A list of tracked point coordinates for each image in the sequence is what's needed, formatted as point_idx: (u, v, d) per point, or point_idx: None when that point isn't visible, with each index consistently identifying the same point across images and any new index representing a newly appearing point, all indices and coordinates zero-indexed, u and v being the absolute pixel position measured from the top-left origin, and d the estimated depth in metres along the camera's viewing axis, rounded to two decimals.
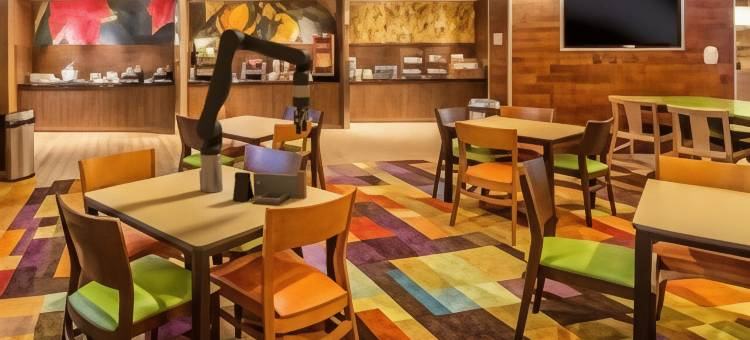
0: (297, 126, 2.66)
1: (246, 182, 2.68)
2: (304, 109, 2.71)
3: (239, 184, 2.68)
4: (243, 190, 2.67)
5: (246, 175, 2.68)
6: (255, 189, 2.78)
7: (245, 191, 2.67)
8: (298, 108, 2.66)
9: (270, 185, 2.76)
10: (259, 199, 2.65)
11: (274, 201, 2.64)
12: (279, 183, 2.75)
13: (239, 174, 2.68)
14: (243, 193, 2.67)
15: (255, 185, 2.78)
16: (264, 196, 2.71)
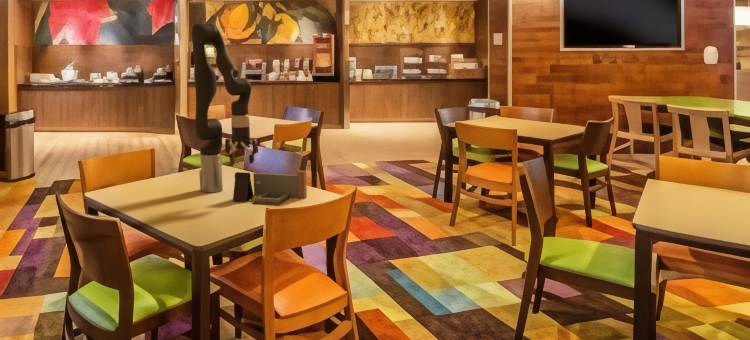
0: (253, 155, 2.66)
1: (246, 182, 2.68)
2: None
3: (239, 184, 2.68)
4: (243, 190, 2.67)
5: (246, 175, 2.68)
6: (255, 189, 2.78)
7: (245, 191, 2.67)
8: (249, 137, 2.65)
9: (270, 185, 2.76)
10: (259, 199, 2.65)
11: (274, 201, 2.64)
12: (279, 183, 2.75)
13: (239, 174, 2.68)
14: (243, 193, 2.67)
15: (255, 185, 2.78)
16: (264, 196, 2.71)
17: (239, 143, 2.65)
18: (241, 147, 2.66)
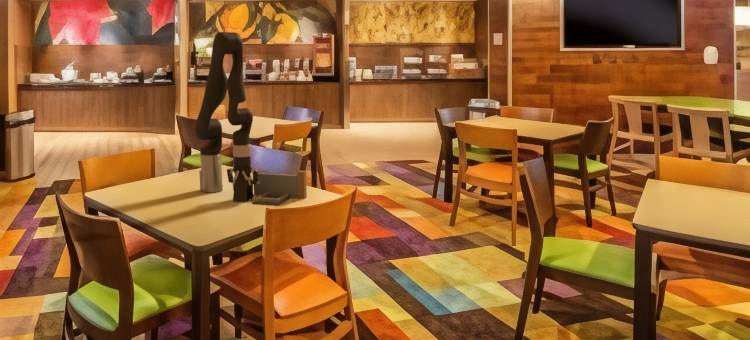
0: (252, 185, 2.69)
1: (246, 182, 2.68)
2: None
3: (239, 184, 2.68)
4: (243, 190, 2.67)
5: None
6: (255, 189, 2.78)
7: (245, 191, 2.67)
8: (250, 167, 2.68)
9: (270, 185, 2.76)
10: (259, 199, 2.65)
11: (274, 201, 2.64)
12: (279, 183, 2.75)
13: (239, 174, 2.68)
14: (243, 193, 2.67)
15: (255, 185, 2.78)
16: (264, 196, 2.71)
17: (240, 172, 2.68)
18: None
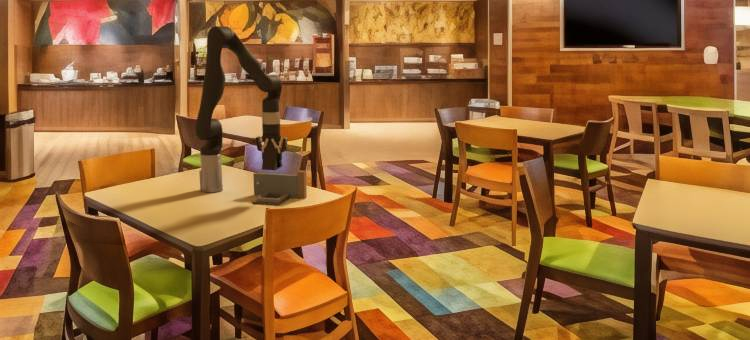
0: (281, 153, 2.66)
1: (275, 150, 2.64)
2: None
3: (268, 152, 2.65)
4: (272, 158, 2.64)
5: None
6: (255, 189, 2.78)
7: (274, 159, 2.64)
8: (279, 134, 2.64)
9: (270, 185, 2.76)
10: (259, 199, 2.65)
11: (274, 201, 2.64)
12: (279, 183, 2.75)
13: (268, 142, 2.65)
14: (272, 161, 2.64)
15: (255, 185, 2.78)
16: (264, 196, 2.71)
17: (269, 140, 2.65)
18: None
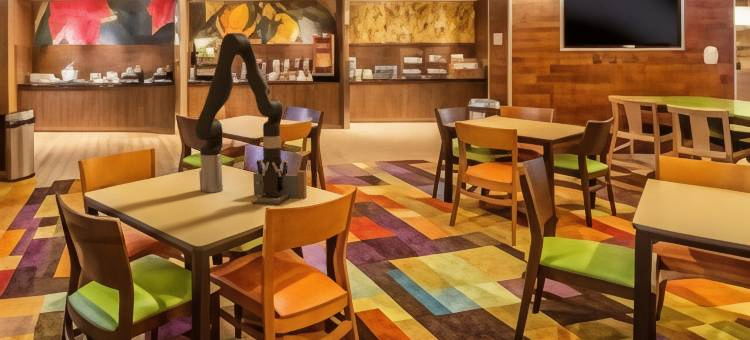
0: (282, 177, 2.68)
1: (276, 173, 2.66)
2: None
3: (269, 175, 2.67)
4: (273, 181, 2.66)
5: None
6: (255, 189, 2.78)
7: (275, 182, 2.66)
8: (280, 158, 2.66)
9: None
10: (259, 199, 2.65)
11: (274, 201, 2.64)
12: None
13: (269, 165, 2.67)
14: (273, 185, 2.66)
15: (255, 185, 2.78)
16: (264, 196, 2.71)
17: (270, 163, 2.67)
18: None
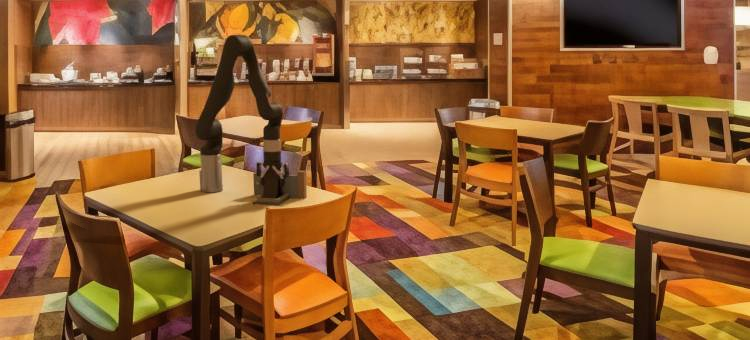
0: (284, 179, 2.68)
1: (276, 181, 2.67)
2: None
3: (269, 183, 2.68)
4: (273, 189, 2.67)
5: (276, 174, 2.67)
6: (255, 189, 2.78)
7: (275, 190, 2.67)
8: (280, 161, 2.67)
9: None
10: (259, 199, 2.65)
11: (274, 201, 2.64)
12: None
13: (269, 173, 2.68)
14: (273, 192, 2.67)
15: (255, 185, 2.78)
16: None
17: (270, 167, 2.67)
18: (272, 171, 2.67)
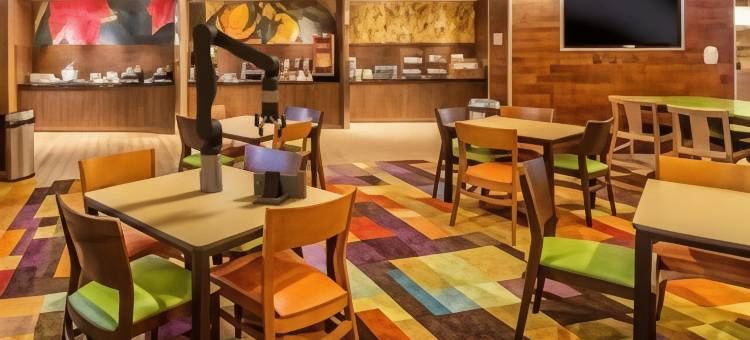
0: (281, 130, 2.75)
1: (276, 181, 2.67)
2: None
3: (269, 183, 2.68)
4: (273, 189, 2.67)
5: (276, 174, 2.67)
6: (255, 189, 2.78)
7: (275, 190, 2.67)
8: (277, 112, 2.74)
9: None
10: (259, 199, 2.65)
11: (274, 201, 2.64)
12: None
13: (269, 173, 2.68)
14: (273, 192, 2.67)
15: (255, 185, 2.78)
16: None
17: (268, 118, 2.74)
18: (270, 122, 2.75)
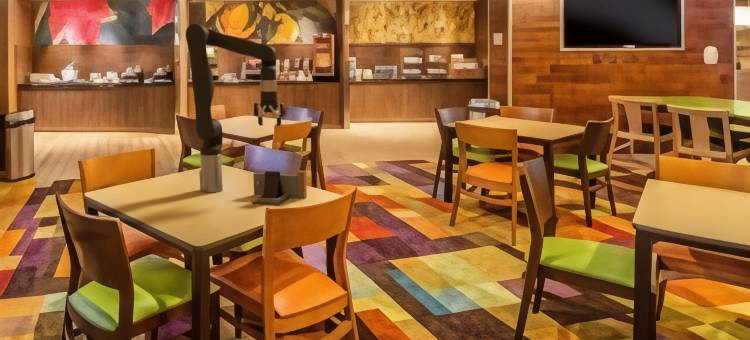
0: (280, 118, 2.81)
1: (276, 181, 2.67)
2: None
3: (269, 183, 2.68)
4: (273, 189, 2.67)
5: (276, 174, 2.67)
6: (255, 189, 2.78)
7: (275, 190, 2.67)
8: (276, 101, 2.80)
9: None
10: (259, 199, 2.65)
11: (274, 201, 2.64)
12: None
13: (269, 173, 2.68)
14: (273, 192, 2.67)
15: (255, 185, 2.78)
16: None
17: (267, 107, 2.81)
18: (269, 111, 2.81)
